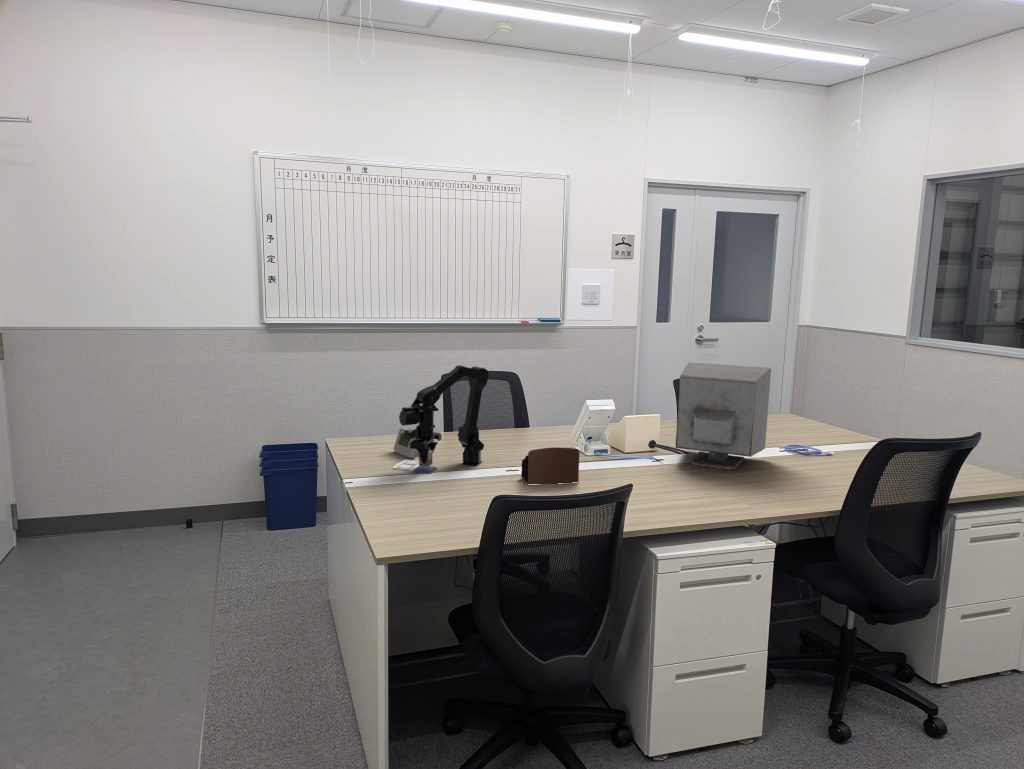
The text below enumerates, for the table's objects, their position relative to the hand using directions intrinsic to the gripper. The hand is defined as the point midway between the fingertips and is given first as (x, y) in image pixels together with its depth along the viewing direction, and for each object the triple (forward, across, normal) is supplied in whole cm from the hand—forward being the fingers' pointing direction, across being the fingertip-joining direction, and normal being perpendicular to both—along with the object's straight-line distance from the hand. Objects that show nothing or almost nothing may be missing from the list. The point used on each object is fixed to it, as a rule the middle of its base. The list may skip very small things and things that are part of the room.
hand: (425, 462), depth 288 cm
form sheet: (+4, -4, -9) cm, 11 cm away
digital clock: (+4, -21, -17) cm, 27 cm away
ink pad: (+4, 0, 0) cm, 4 cm away
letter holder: (+4, -3, +49) cm, 49 cm away
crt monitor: (+4, -54, +110) cm, 122 cm away
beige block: (+1, 0, 0) cm, 1 cm away
